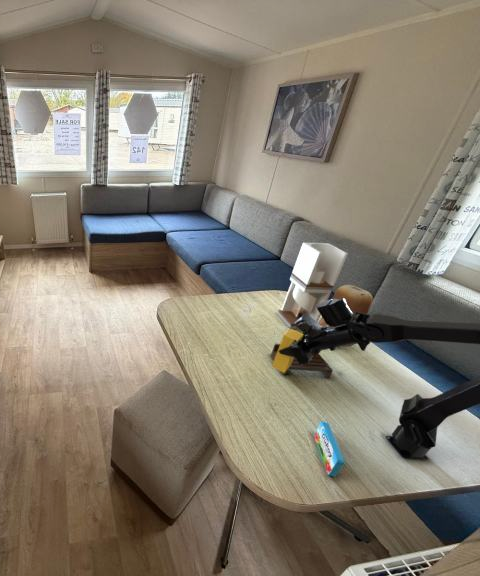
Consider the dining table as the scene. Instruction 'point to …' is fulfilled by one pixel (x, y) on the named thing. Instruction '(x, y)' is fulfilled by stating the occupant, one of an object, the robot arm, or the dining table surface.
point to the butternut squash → (352, 301)
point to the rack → (314, 365)
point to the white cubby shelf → (311, 281)
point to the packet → (282, 360)
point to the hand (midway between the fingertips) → (283, 348)
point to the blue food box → (328, 449)
